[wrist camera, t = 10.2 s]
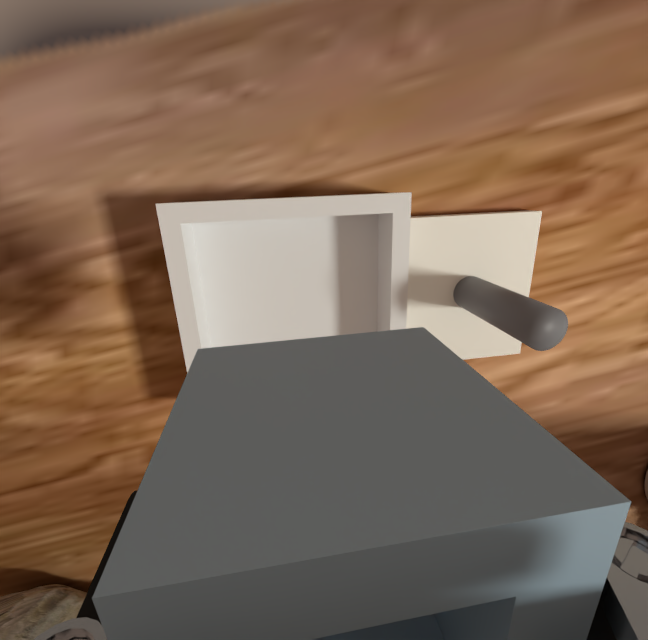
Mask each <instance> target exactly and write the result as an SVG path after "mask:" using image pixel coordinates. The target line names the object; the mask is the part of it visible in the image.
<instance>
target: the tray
mask: <svg viewBox="0 0 648 640" xmlns="http://www.w3.org/2000/svg"><path fill="white" fill-rule="evenodd" d="M156 210H157V215H158V220H159V226H160V231H161V236H162V241H163V247H164V252H165V257H166V263H167V268H168V273H169V279H170V284H171V289H172V295H173V300H174V305H175V311H176V316H177V321H178V327H179V332H180V337H181V343H182V348H183V353H184V359H185V364H186V369H187V373H188V371H189V368H190V366H191V364H192V361H193V359H194V357H195V354H196V352H197V350H198V349H202V348H212V347H223V346H233V345H243V344H254V343H264V342H274V341H284V340H295V339H305V338H315V337H326V336H336V335H346V334H357V333H367V332H377V331H388V330H398V329H406V320H407V295H408V269H409V243H410V218H411V192H408V193H374V194H351V195H328V196H305V197H283V198H260V199H237V200H214V201H191V202H171V203H158V204H156Z"/></svg>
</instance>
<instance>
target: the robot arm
mask: <svg viewBox="0 0 648 640" xmlns="http://www.w3.org/2000/svg"><path fill="white" fill-rule="evenodd" d="M136 493H137V491H134V492H133V493H132V494H131V496H130V498H129V499H128V502H127V504H126V506H125V508H124V511H123V513H122V515H121V517H120V520H119V522H118V524H117V526H116V529H115V531H114V533H113V536H112V538H111V540H110V542H109V545H108V547H107V549H106V551H105V554H104V556H103V558H102V560H101V563H100V565H99V567H98V570H97V572H96V574H95V576H94V579H93V581H92V583H91V585H90V588H89V590H88V592H87V594H86V597H85V599H84V601H83V604H82V606H81V608H80V610H79V613H78V615H77V617H76V618H73V619H70V620H67V621H64V622H62V623H59V624H56V625H54V626H53V627H51V628H50V629H48V630H46V631H45V632H43V633H41V634H40V635H38V636H37V637H36V638H35V639H34V640H107V637H106V634H105V632H104V629H103V627H102V624H101V621H100V619H99V616H98V613H97V611H96V608H95V606H94V603H93V600H92V597H93V595H94V592H95V590H96V588H97V585H98V583H99V581H100V578H101V576H102V574H103V571H104V569H105V566H106V564H107V562H108V559H109V557H110V555H111V552H112V550H113V548H114V545H115V543H116V541H117V538H118V536H119V533H120V531H121V529H122V526H123V524H124V522H125V519H126V517H127V515H128V512H129V510H130V508H131V505H132V503H133V500H134V498H135V496H136ZM645 493H646V497H647V499H648V470H647V473H646V477H645ZM586 640H648V531H647V530H645V529H643V528H641V527H638V526H636V525H633V524H631V523H627V522H625V523H624V526H623V529H622V532H621V535H620V538H619V541H618V544H617V547H616V550H615V553H614V556H613V560H612V563H611V566H610V569H609V572H608V575H607V578H606V581H605V584H604V587H603V590H602V593H601V596H600V600H599V603H598V606H597V609H596V612H595V615H594V618H593V621H592V624H591V627H590V630H589V633H588V636H587V639H586Z"/></svg>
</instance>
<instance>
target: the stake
mask: <svg viewBox="0 0 648 640" xmlns="http://www.w3.org/2000/svg"><path fill="white" fill-rule="evenodd" d="M541 215H542V211H532V210H526V211H508V212H489V213H470V214H451V215H432V216H413V217H411V218H410V243H409V269H408V295H407V320H406V329H408V328H418V327H424V328H425V329H426V330H428V331H429V332H430V333H431V334H432V335H434V336H435V337H436V338H437V339H438V340H440V341H441V342H442V343H443V344H444V345H445V346H447V347H448V348H449V349H450V350H451V351H453V352H454V353H455V354H456V355H457V356H459V357H460V358H461V359H462V360H463V359H473V358H482V357H491V356H500V355H510V354H519V353H520V349H521V343H524V344H526V345H527V346H529V347H531V348H533V349H535V350H538V351H544V350H548V349H551V348H553V347H554V346H556V345H557V344H558V343H559V342H560V341H561V340H562V339H563V337H564V336H565V334H566V331H567V328H568V320H567V317H566V315H565V313H564V312H563V311H561V310H559V309H557V308H554V307H552V306H549V305H547V304H544V303H542V302H539V301H537V300H534V299H531V298H529V292H530V285H531V279H532V273H533V266H534V260H535V253H536V247H537V241H538V234H539V228H540V222H541Z"/></svg>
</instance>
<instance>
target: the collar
mask: <svg viewBox="0 0 648 640" xmlns="http://www.w3.org/2000/svg"><path fill="white" fill-rule="evenodd" d="M630 504H631V501H630V500H629V499H628V498H626V497H625V496H624V495H623V494H622V493H621V492H619V491H618V490H617V489H616V488H615V487H613V486H612V485H611V484H610V483H609V482H607V481H606V480H605V479H604V478H603V477H601V476H600V475H599V474H598V473H597V472H596V471H594V470H593V469H592V468H591V467H590V466H588V465H587V464H586V463H585V462H584V461H582V460H581V459H580V458H579V457H578V456H576V455H575V454H574V453H573V452H572V451H571V450H569V449H568V448H567V447H566V446H565V445H563V444H562V443H561V442H560V441H559V440H557V439H556V438H555V437H554V436H553V435H551V434H550V433H549V432H548V431H547V430H546V429H544V428H543V427H542V426H541V425H540V424H538V423H537V422H536V421H535V420H534V419H532V418H531V417H530V416H529V415H528V414H526V413H525V412H524V411H523V410H522V409H521V408H519V407H518V406H517V405H516V404H515V403H513V402H512V401H511V400H510V399H509V398H507V397H506V396H505V395H504V394H503V393H501V392H500V391H499V390H498V389H497V388H495V387H494V386H493V385H492V384H491V383H490V382H488V381H487V380H486V379H485V378H484V377H482V376H481V375H480V374H479V373H478V372H476V371H475V370H474V369H473V368H472V367H470V366H469V365H468V364H467V363H466V362H465V361H463V360H462V359H461V358H460V357H459V356H457V355H456V354H455V353H454V352H453V351H451V350H450V349H449V348H448V347H447V346H445V345H444V344H443V343H442V342H441V341H440V340H438V339H437V338H436V337H435V336H434V335H432V334H431V333H430V332H429V331H428V330H426V329H425V328H424V327H418V328H408V329H398V330H388V331H377V332H367V333H357V334H346V335H336V336H326V337H315V338H305V339H295V340H284V341H274V342H264V343H254V344H243V345H233V346H223V347H212V348H202V349H198V350H197V352H196V354H195V357H194V359H193V361H192V364H191V366H190V368H189V371H188V373H187V375H186V378H185V380H184V383H183V385H182V387H181V390H180V392H179V394H178V397H177V399H176V401H175V404H174V406H173V408H172V411H171V413H170V416H169V418H168V420H167V423H166V425H165V427H164V430H163V432H162V434H161V437H160V439H159V442H158V444H157V446H156V449H155V451H154V453H153V456H152V458H151V460H150V463H149V465H148V467H147V470H146V472H145V475H144V477H143V479H142V482H141V484H140V486H139V489H138V491H137V493H136V496H135V498H134V500H133V503H132V505H131V508H130V510H129V512H128V515H127V517H126V519H125V522H124V524H123V526H122V529H121V531H120V533H119V536H118V538H117V541H116V543H115V545H114V548H113V550H112V552H111V555H110V557H109V559H108V562H107V564H106V566H105V569H104V571H103V574H102V576H101V578H100V581H99V583H98V585H97V588H96V590H95V592H94V595H93V597H92V600H93V603H94V606H95V608H96V611H97V613H98V616H99V619H100V621H101V624H102V627H103V629H104V632H105V634H106V637H107V640H586V639H587V636H588V633H589V630H590V627H591V624H592V621H593V618H594V615H595V612H596V609H597V606H598V603H599V600H600V596H601V593H602V590H603V587H604V584H605V581H606V578H607V575H608V572H609V569H610V566H611V563H612V560H613V556H614V553H615V550H616V547H617V544H618V541H619V538H620V535H621V532H622V529H623V526H624V523H625V520H626V517H627V513H628V510H629V507H630Z"/></svg>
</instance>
